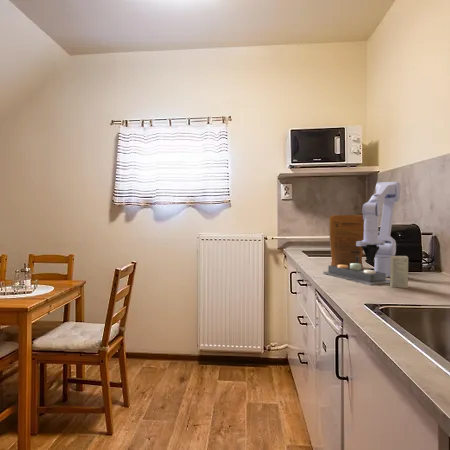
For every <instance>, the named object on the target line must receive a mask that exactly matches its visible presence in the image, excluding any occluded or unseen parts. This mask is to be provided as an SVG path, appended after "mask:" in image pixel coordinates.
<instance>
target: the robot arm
mask: <svg viewBox="0 0 450 450" xmlns="http://www.w3.org/2000/svg"><path fill="white" fill-rule="evenodd" d="M401 187H402V186H401V183H400V182H399V181H382V182H381V181H379V182H378V181H377V183H376V185H375V193H374V194H372V195H371V197H370V198H369V200H368V201H367V202H365V203H363V205H362V209H361V212H362V215H363V220H364V240H362V241H356V246H362V249H363V253H364V255H365V259H366V263H367V264H368V263H369V264H373V263H374V267H373V268H374V269H373V270H374V271H377V272H382V273H386V278H390V262H391V256H396V253H397V242H396V240H395V238H393V237H392V236H391V233H392V227H393V217H394V211H395V210H394V209H395V205H396V202H399V201H400V196H401V189H402V188H401ZM380 216H381V220H380ZM379 220H380V225H379ZM379 227H380V228H379Z"/></svg>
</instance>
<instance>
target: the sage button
mask: <svg viewBox="0 0 450 450" xmlns="http://www.w3.org/2000/svg"><path fill="white" fill-rule="evenodd" d="M350 270H355V271H357V270H361V264H359V263H350Z"/></svg>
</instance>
